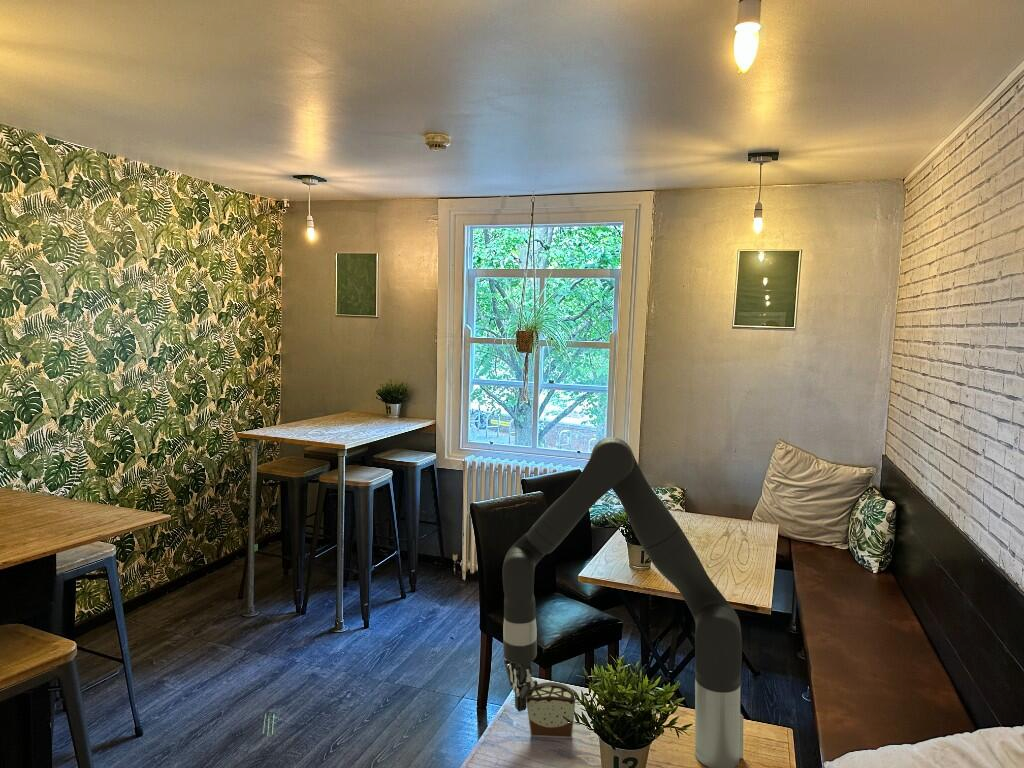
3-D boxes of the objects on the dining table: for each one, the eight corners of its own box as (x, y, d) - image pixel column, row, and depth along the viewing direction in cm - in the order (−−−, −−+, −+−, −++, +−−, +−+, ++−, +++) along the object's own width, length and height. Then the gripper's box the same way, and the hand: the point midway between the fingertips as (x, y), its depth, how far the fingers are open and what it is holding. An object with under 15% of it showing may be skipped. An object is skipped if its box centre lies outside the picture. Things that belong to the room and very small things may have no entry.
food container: (578, 721, 155) (577, 681, 154) (578, 738, 149) (577, 696, 148) (526, 719, 156) (525, 679, 155) (524, 736, 150) (523, 694, 149)
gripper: (548, 645, 143) (549, 720, 144) (521, 620, 155) (522, 690, 156) (517, 653, 139) (518, 729, 141) (492, 627, 151) (493, 698, 153)
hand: (520, 708), depth 149 cm, fingers closed
